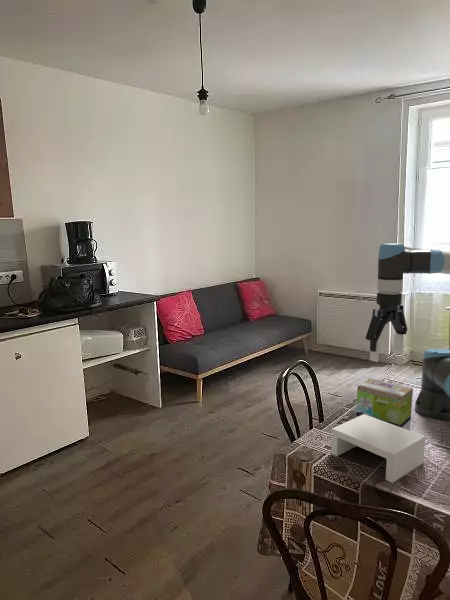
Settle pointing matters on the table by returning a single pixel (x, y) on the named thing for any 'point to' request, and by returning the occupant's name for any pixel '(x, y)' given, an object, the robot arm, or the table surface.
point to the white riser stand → (381, 443)
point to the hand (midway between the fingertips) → (386, 357)
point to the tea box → (385, 402)
